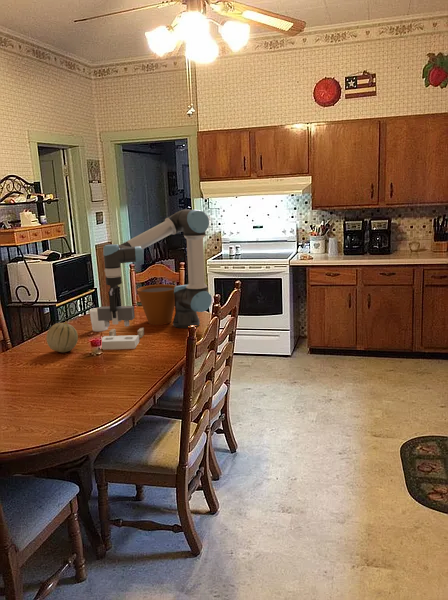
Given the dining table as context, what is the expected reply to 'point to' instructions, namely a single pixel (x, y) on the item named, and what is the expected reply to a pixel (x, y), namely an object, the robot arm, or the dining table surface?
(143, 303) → the flower pot
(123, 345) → the hole board
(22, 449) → the dining table surface
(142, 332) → the wooden rests
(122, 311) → the peg strip
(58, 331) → the cantaloupe
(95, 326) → the white cylinder
